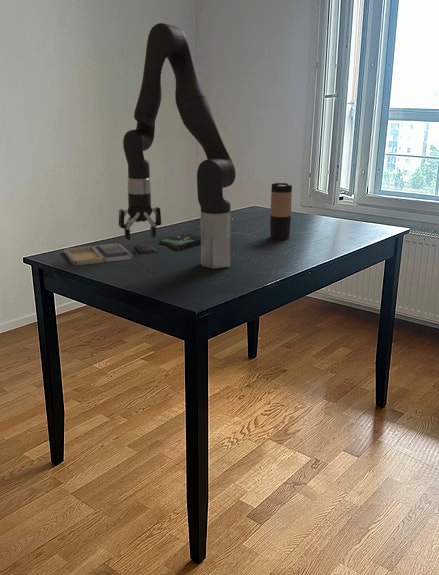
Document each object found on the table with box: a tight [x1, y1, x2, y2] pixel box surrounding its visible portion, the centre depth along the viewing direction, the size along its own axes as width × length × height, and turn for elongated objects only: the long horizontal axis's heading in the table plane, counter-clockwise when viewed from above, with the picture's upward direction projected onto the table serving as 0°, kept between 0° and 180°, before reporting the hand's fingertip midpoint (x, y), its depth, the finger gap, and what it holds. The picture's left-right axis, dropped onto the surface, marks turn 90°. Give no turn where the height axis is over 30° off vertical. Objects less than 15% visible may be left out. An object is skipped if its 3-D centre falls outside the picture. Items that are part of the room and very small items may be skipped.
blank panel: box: [97, 242, 125, 258], centre depth 193 cm, size 12×6×2 cm, turn 25°
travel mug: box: [269, 182, 293, 241], centre depth 217 cm, size 8×8×20 cm
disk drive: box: [158, 232, 201, 252], centre depth 210 cm, size 10×3×15 cm
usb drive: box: [135, 241, 157, 255], centre depth 200 cm, size 5×12×3 cm, turn 20°
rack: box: [63, 242, 134, 267], centre depth 191 cm, size 17×19×2 cm
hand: (140, 238), depth 199 cm, fingers open, 8 cm apart
